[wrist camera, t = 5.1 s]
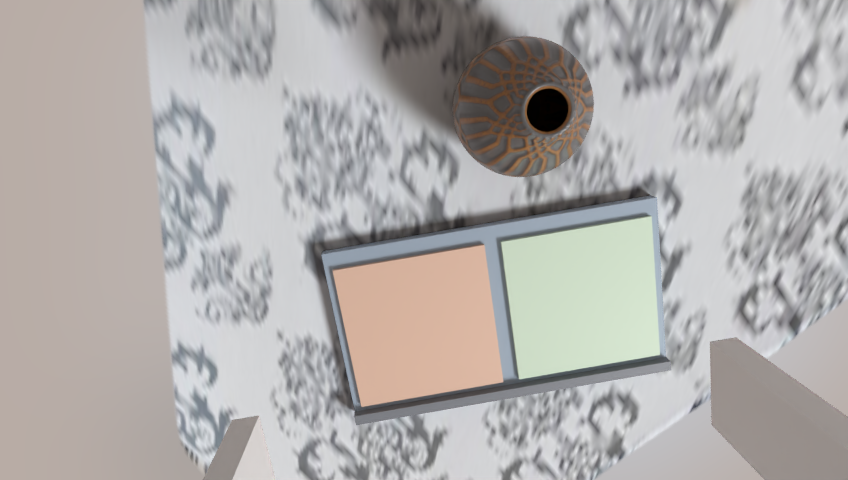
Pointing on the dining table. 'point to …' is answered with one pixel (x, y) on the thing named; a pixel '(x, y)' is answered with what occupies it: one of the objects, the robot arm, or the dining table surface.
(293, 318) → the dining table surface
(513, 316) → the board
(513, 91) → the vase
